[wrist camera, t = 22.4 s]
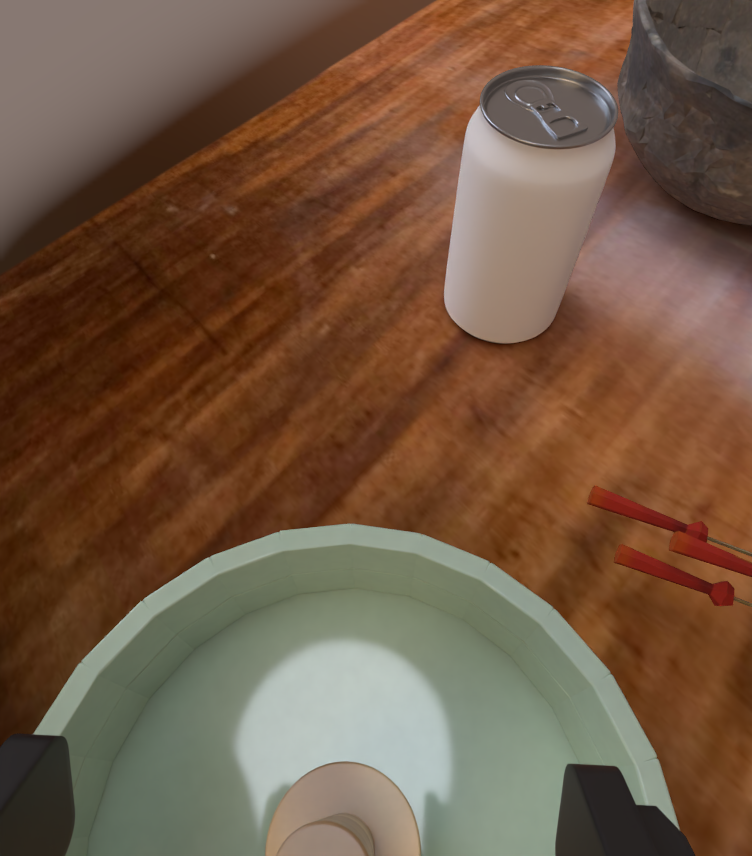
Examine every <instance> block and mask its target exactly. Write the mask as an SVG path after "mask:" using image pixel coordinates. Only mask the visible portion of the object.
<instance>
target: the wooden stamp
mask: <svg viewBox="0 0 752 856" xmlns="http://www.w3.org/2000/svg"><path fill="white" fill-rule="evenodd" d="M265 856H421V843H420V835H419V830H418V825H417V822H416V819H415V815H414V813H413V811H412V808H411V806H410V804H409V802H408V801H407V799H406V797H405V796H404V794H403V793H402V791H401V790H400V789H399V787H398V786H397V785H396V784H395V783H394V782H393V781H392V780H391V779H390V778H388V777H387V776H386V775H384V774H383V773H382V772H380V771H378V770H377V769H375V768H373V767H370V766H368V765H365V764H361V763H357V762H349V761H342V762H333V763H328V764H325V765H322V766H319V767H317V768H315V769H313V770H311V771H309V772H308V773H307V774H305V775H304V776H302V777H301V778H300V779H299V780H298V781H296V782H295V783H294V784H293V785H292V786H291V788H290V789H289V790H288V791H287V792H286V794H285V795H284V797H283V798H282V800H281V801H280V803H279V804H278V806H277V808H276V810H275V812H274V815H273V817H272V820H271V823H270V826H269V830H268V834H267V839H266V846H265Z"/></svg>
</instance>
